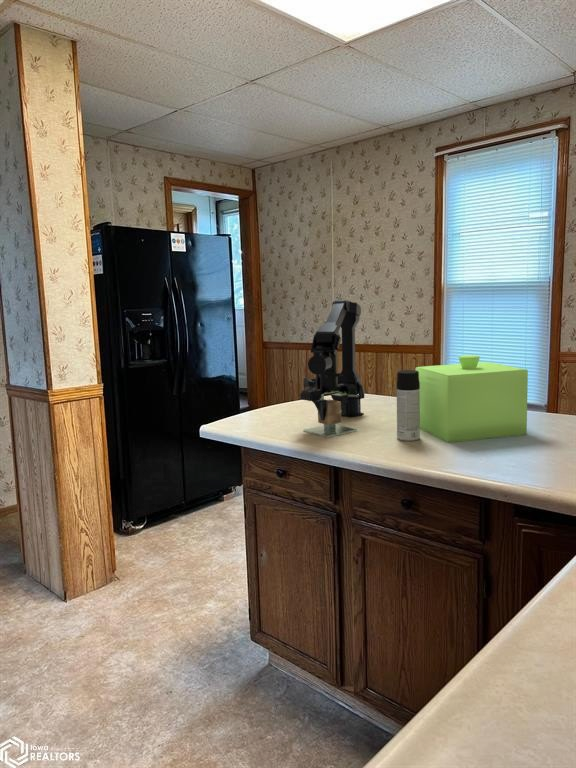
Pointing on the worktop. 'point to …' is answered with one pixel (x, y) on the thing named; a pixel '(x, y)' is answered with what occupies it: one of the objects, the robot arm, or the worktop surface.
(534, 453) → the worktop surface
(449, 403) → the canister
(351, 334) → the robot arm
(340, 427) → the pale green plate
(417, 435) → the spray can
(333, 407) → the brown shipping carton
